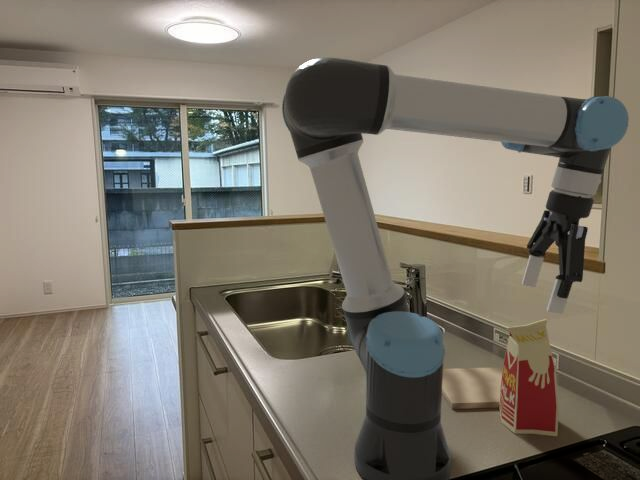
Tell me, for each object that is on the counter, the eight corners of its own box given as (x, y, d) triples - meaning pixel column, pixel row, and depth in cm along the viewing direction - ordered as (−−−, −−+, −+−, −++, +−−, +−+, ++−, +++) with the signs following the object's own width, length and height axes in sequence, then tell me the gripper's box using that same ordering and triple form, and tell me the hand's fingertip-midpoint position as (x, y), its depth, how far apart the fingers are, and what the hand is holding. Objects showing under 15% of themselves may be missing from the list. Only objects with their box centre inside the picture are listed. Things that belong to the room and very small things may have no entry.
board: (451, 408, 93) (452, 403, 93) (428, 374, 109) (428, 369, 109) (540, 406, 94) (540, 400, 94) (504, 372, 110) (504, 367, 110)
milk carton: (541, 410, 93) (548, 311, 90) (560, 436, 84) (568, 328, 81) (493, 408, 94) (498, 310, 91) (506, 434, 84) (513, 326, 82)
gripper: (630, 210, 76) (589, 329, 82) (563, 185, 100) (536, 279, 106) (583, 202, 76) (546, 321, 82) (528, 180, 100) (502, 273, 106)
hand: (540, 298), depth 94 cm, fingers open, 13 cm apart
